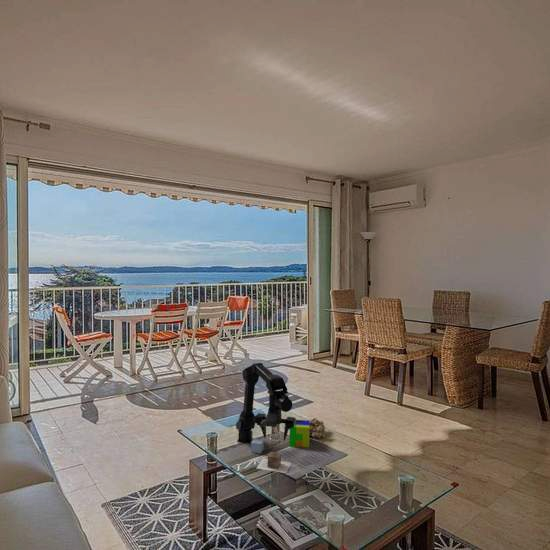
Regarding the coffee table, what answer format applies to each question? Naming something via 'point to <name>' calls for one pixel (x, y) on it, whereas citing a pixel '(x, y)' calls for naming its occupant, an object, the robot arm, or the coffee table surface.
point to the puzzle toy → (300, 434)
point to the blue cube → (257, 446)
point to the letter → (282, 468)
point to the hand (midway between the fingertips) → (274, 438)
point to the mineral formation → (316, 428)
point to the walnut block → (274, 460)
